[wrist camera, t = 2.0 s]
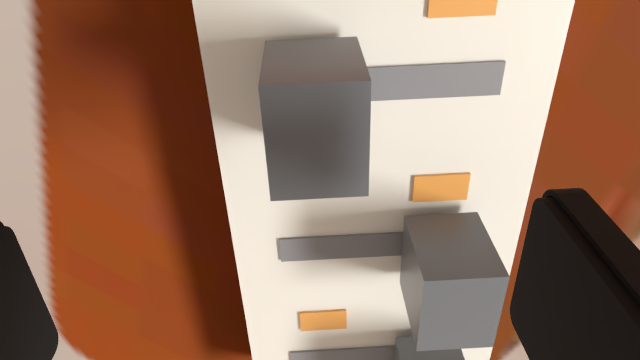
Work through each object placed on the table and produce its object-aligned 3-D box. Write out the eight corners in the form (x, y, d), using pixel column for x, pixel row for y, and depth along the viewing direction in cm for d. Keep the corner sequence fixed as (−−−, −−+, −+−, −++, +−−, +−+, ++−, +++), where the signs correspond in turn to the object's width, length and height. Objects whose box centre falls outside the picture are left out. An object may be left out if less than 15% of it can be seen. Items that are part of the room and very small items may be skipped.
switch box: (203, -39, 15) (187, -20, 13) (543, -54, 15) (585, -37, 13) (262, 356, 25) (259, 405, 22) (466, 345, 25) (482, 393, 23)
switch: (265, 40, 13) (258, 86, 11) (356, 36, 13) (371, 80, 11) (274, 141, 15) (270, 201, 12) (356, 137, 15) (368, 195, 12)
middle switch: (404, 215, 17) (424, 281, 14) (477, 211, 17) (509, 276, 14) (399, 282, 18) (416, 351, 16) (465, 278, 18) (493, 346, 16)
